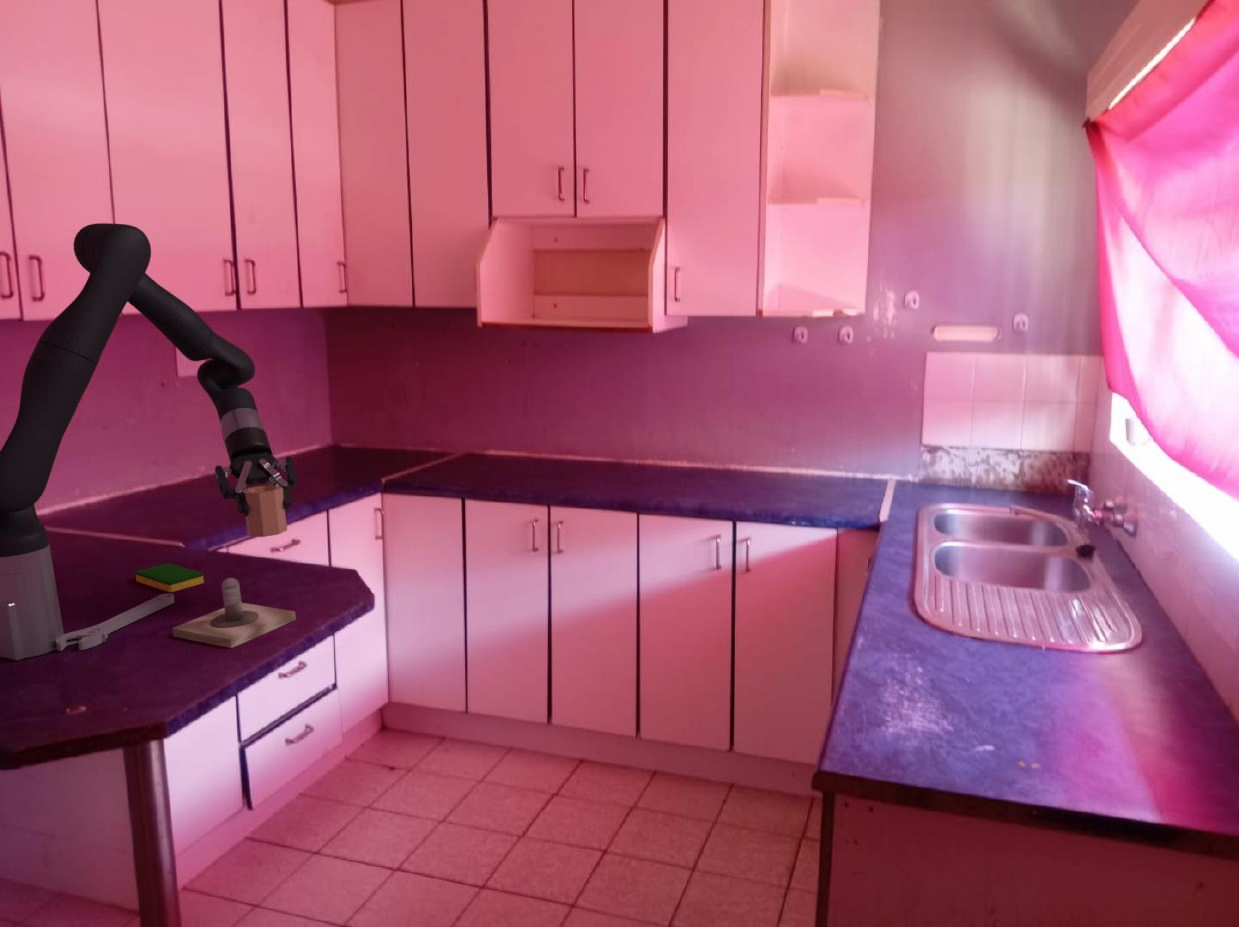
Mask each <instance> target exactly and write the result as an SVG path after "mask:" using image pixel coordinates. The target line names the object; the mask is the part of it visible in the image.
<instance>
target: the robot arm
mask: <svg viewBox="0 0 1239 927" xmlns="http://www.w3.org/2000/svg"><path fill="white" fill-rule="evenodd" d="M151 246H152V245H151V243H150V240H149V238H148V236H147V234H146V233H145V232H144V231H143V230H142V229H140V228H138V227H137V226H134V225H131V224H124V223H112V222H111V223H110V222H109V223H107V222H103V223H102V222H100V223H91V224H87V225H86V226H83V227H82V228H80V229H79V231H77V233H76V235H75V237H74V239H73V253H74V256H75V258H76V260H77V262H78V263H79V265H80V266H81V267H82V268H83V269H84V270H86V271H87V272H88V273H89V275H88V277H87V280H86V282H85V284H84V285H83V287H82V289H81V291H79V293H78V295H77V296H75V299H73V300H72V302H71V303H70V304H69V305H67V307H65V309H64V310H63V311H61V312H59V314H58V315H57V316H56V317H55V318H54V320H52V321H51V323H49V324H48V326H47V327H46V328H45V330H44V331H43V332H42V333H41V335H40V337H39V339H38V341H37V343H36V344H35V347H34V349H33V351H32V353H31V354H30V357H29V359H28V362H27V364H26V367H25V370H24V373H23V377H22V382H21V383H22V384H21V390H20V398H19V400H20V401H19V405H18V406H19V408H18V413H17V416H16V419H15V421H14V422H15V423H14V425H13V426H12V429H11V430H10V433H9V435H8V436H7V439H6V440H5V442H4V444H3V446H2V448H0V657H1V658H5V659H9V660H12V661H19V660H22V659H25V658H26V659H27V658H32V657H38V656H41V655H45V654H48V653H51V652H53V651H55V650H57V648H56V640H57V639H59V638H60V637H61V636H62V635H64V634H65V633H64V627H63V620H62V615H61V609H60V602H59V596H58V591H57V589H58V588H57V583H56V578H55V572H54V566H53V565H54V564H53V560H52V554H51V553H52V552H51V547H50V541H49V535H48V532H47V531H48V530H47V529H46V527H45V525H43V522H42V521H41V520H40V518H39V516H38V514H37V512H36V511H37V510H36V507H35V504H36V503H37V502H38V501H39V500H40V498H41V497H42V496H43V494H44V492H45V490H46V488H47V485H48V482H49V479H50V477H51V472H52V470H53V467H54V464H55V461H56V459H57V458H56V457H57V455H58V451H59V449H60V446H61V443H62V441H63V438H64V435H65V433H66V432H67V429H68V428H69V425H70V423H71V421H72V419H73V417H74V415H75V413H76V411H77V409H78V406H79V404H80V402H81V400H82V398H83V397H84V393H85V392H86V390H87V388H88V386H89V384H90V382H91V379H92V378H93V375H94V373H95V371H96V369H97V367H98V364H99V362H100V359H101V357H102V354H103V352H104V350H105V348H106V345H107V343H108V342H109V340H110V337H111V335H112V334H113V331H114V329H115V326H116V325H117V322H118V321H119V319H120V316H121V314H122V312H123V310H124V308H125V306H126V305H127V303H128V304H130V306H132V307H133V308H134V309H136V310H137V311H138V312H139V313H141V315H142V316H144V317H145V319H147V320H148V321H149V322H150V323H151V324H152V325H154V326H155V328H156V329H157V330H158V331H159V332H160V333H161V334H162V335H163V336H165V338H166V339H167V340H168V341H169V342H170V343H171V344H172V345H173V346H174V347H175V348H176V349H177V350H178V351H179V352H180V353H181V354H182V355H183V356H184V357H185V358H186V359H187V360H189V361H191V362H201V361H204V360H206V361H205V362H203V363H201V364H200V366H199V367H198V368H197V371H196V378H197V381H198V383H199V385H200V387H201V388H202V389H203V390H204V391H205V392H206V394H207V395H208V396H209V398H210V400H211V402H212V403H213V405H214V406H215V409H216V412H217V415H218V419H219V423H220V428H221V429H220V430H221V434H222V441H223V443H224V446H225V449H226V454H227V456H228V460H229V463H230V464H229V465H228V466H224V467H223V466H222V465H218V464H217V465H216V466H215V468H214V478H215V481H216V483H217V485H218V488H219V491H220V493H221V495H222V497H223V499H224V500H229V499H233V500H235V502H236V503H235V504H236V507H237V509H238V510H237V511H238V513H239V514H241V515H242V514H243V515H242V516H243V517H245V516H248V514H249V508H248V505H247V502H246V498H245V495H244V493H243V490H245V489H247V485H248V486H255V485H257V484H260V485H263V484H268V485H279V486H281V487H282V488H283V496H284V497H283V498H284V507H285V511H287V510H289V509H290V507H291V506H292V505H291V504H292V501H293V500H292V496H291V493H290V490H292V491H293V490H295V489H296V485H297V484H296V483H297V479H298V478H297V475H296V474H297V473H296V468H295V464H294V458H293V457H292V456H290V455H289V456H286V457H285V459H277V457H275V456H274V454H273V451H272V448H271V444H270V441H269V438H268V435H267V431H266V428H265V425H264V422H263V420H262V419H261V417H260V413H259V410H258V407H257V404H256V401H255V398H254V395H253V394H252V392H251V391H250V390H249V389H247V388H244V387H240V386H241V385H244V384H246V383H247V382H250V381H251V380H252V379H253V378H254V376H255V373H256V365H255V363H254V361H253V360H252V358H251V356H250V355H249V354H248V353H246V352H245V350H243V349H242V348H240V347H239V346H237V345H235V344H233V343H231V342H230V341H228V340H227V339H225V338H224V337H222V336H220V334H218V333H216V332H215V331H214V330H213V329H212V328H211V327H210V326H209V325H208V324H207V322H205V320H204V319H203V318H202V317H201V316H200V315H199V314H198V313H197V312H196V311H195V310H194V309H193V308H191V307H190V306H189V305H188V304H187V303H185V302H184V301H183V300H181V299H180V298H179V297H177V296H176V295H175V294H173V293H172V292H170V291H169V290H167V289H165V287H163V286H161V284H158V283H157V282H156V281H155V280H154V279H153V278H152V277H150V276H149V275H148V274H147V273H146V272H147V270H148V268H149V265H150V262H151V258H152V247H151ZM277 468H280V469H281V471H283V472H285V477H286V479H284V478H283V477H282V476H281V474H280V472H279V471H277ZM229 474H231V475H232V476H233V477H236V479H238V481H237V484H236V486H235V488H233V487H231V485H230V483H229V480H228V478H229Z"/></svg>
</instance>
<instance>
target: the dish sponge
mask: <svg viewBox="0 0 1239 927" xmlns="http://www.w3.org/2000/svg"><path fill="white" fill-rule="evenodd" d="M134 573H135V579H136V582H137V583H140V584H143V585H147V586H149V587H153V588H156V589H159V590H161V591H165V592H168V593H173V592H177V591H181V590H184V589H187V588H190V587H194V586H197V585H201V584H204V583H205V582H204V574H203V573H202V572H199V571H196V570H192V569H189V568H186V567H183V566H179V565H175V564H173V563H169V562H168V563H163V564H159V565H157V566H152V567H147V568H144V569H141V570H137V571H135V572H134Z"/></svg>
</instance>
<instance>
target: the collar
mask: <svg viewBox="0 0 1239 927" xmlns="http://www.w3.org/2000/svg"><path fill="white" fill-rule="evenodd" d="M243 493H244V495H245V498H246V502H247V505H248V508H249V514H248V516H244V518H245V524H246V530H247V531H246V532H247V535H248V536H249V537H250V538H252V537H257V538H258V537H259V538H265V537H270V536H271V537H272V536H277V535H280V534H283V533H285V532H287V531H288V526H287V524H288V523H287V518H286V510H285V507H284V498H283V497H284V496H283V488H282V487H281V486H279V485H269V484H268V485H267V484H266V485H259V486H257V485H256V486H251V487H248V488H245V490H243Z"/></svg>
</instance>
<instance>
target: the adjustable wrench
mask: <svg viewBox="0 0 1239 927" xmlns="http://www.w3.org/2000/svg"><path fill="white" fill-rule="evenodd" d="M174 603H175V595H174V594H173V593H164V594H162V593H161V594H160V595H158V596H155V597H153V598H151V599H149V600H147V601H145V602H143V603H140V604H139V605H137V606H135V607H132V608H130V609H128V610H125V611H124V612H122V613H120V614H118V615H116V616H114V617H113V616H112V617H111V618H109V619H107V620H105V621H102V622H101V623H98V624H95V625H92V626H89V627H86V628H82V629H78V630H75V631H71V632H67V633H64V635H62V636H61V637H60V638H59V639H57V640H56V648H57V649H56V650H57V651H58V652H62V651H63V650H64V649H65V648H66V647H67V646H71V645H77V644H78V650H79V651H83V650H84V651H85V650H88V649H91V648H93V647H96V646H99V644H102V643H104V642H105V643H106V642H107V640H106V639H108V638H109V637H108V635H109V634H111V633H112V632H115V631H117V630H119V629H121V628H123V627H125V626H128V625H130V624H131V623H134V622H136V621H138V620H140V619H143V618H145V617H147V616H149V615H152V614H153V613H155V612H158V611H159V610H161V609H164V608H166V607H167V606H168V607H169V606H170V605H172V604H174Z"/></svg>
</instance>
